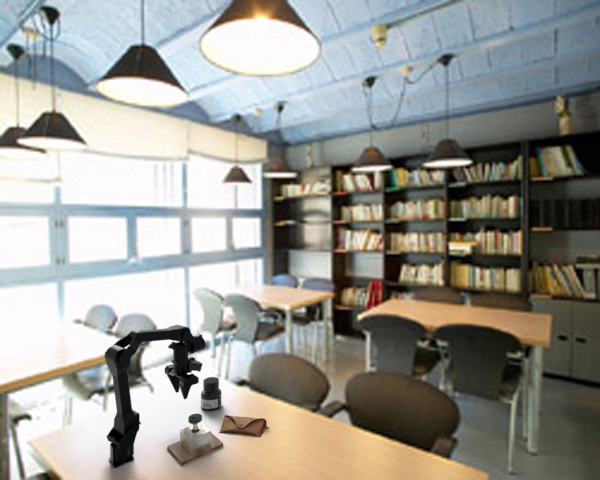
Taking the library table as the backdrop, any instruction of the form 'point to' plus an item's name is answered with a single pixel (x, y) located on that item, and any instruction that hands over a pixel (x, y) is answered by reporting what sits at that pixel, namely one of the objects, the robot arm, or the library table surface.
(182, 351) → the robot arm
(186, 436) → the block
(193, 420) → the plunger
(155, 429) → the library table surface
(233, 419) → the sunglasses case
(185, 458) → the walnut board
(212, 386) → the ink bottle
